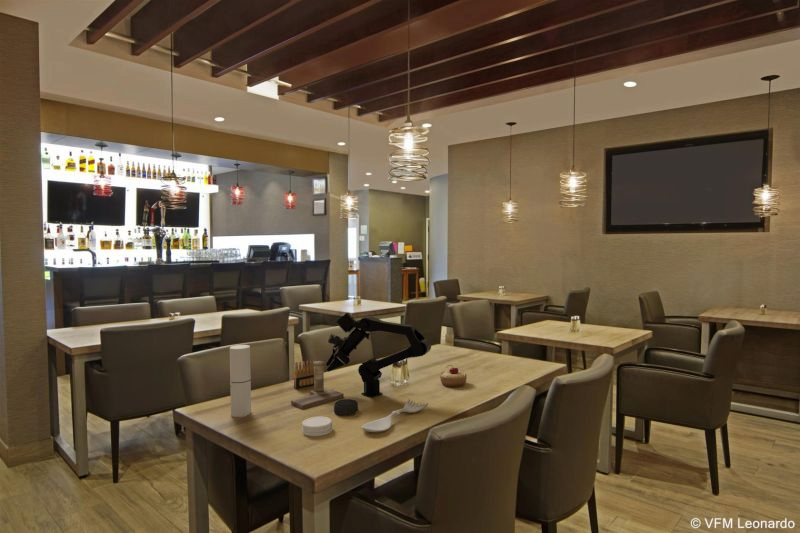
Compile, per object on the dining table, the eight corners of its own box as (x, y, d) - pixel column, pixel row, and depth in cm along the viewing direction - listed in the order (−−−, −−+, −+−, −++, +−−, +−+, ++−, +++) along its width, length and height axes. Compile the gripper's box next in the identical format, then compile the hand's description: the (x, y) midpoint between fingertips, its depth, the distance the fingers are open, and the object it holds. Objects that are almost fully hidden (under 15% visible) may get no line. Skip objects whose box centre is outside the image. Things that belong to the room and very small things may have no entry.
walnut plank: (343, 397, 194) (343, 393, 194) (302, 410, 180) (302, 405, 180) (332, 393, 200) (332, 389, 200) (291, 405, 186) (291, 400, 186)
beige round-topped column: (328, 394, 198) (327, 361, 198) (316, 397, 194) (315, 364, 194) (321, 392, 202) (321, 360, 201) (309, 395, 197) (309, 362, 197)
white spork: (429, 411, 179) (429, 401, 179) (377, 439, 153) (377, 428, 153) (409, 406, 185) (409, 397, 184) (355, 433, 158) (355, 422, 158)
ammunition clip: (295, 390, 206) (295, 362, 205) (293, 389, 207) (293, 361, 207) (317, 385, 213) (317, 358, 212) (315, 384, 214) (315, 358, 213)
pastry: (468, 389, 207) (468, 369, 207) (440, 388, 207) (441, 368, 207) (464, 380, 219) (465, 361, 219) (439, 380, 219) (439, 361, 219)
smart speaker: (348, 418, 171) (348, 407, 171) (329, 414, 176) (329, 403, 176) (362, 411, 179) (362, 400, 179) (343, 407, 184) (343, 397, 183)
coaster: (333, 425, 165) (333, 415, 165) (330, 437, 155) (330, 426, 155) (304, 426, 165) (304, 416, 164) (299, 437, 155) (299, 427, 155)
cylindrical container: (239, 418, 172) (238, 349, 171) (226, 414, 175) (225, 347, 174) (255, 412, 178) (254, 346, 177) (242, 409, 182) (241, 344, 180)
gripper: (337, 323, 207) (312, 350, 206) (340, 331, 189) (313, 360, 187) (356, 341, 209) (331, 367, 208) (360, 350, 191) (333, 378, 189)
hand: (326, 367), depth 198 cm, fingers open, 9 cm apart
